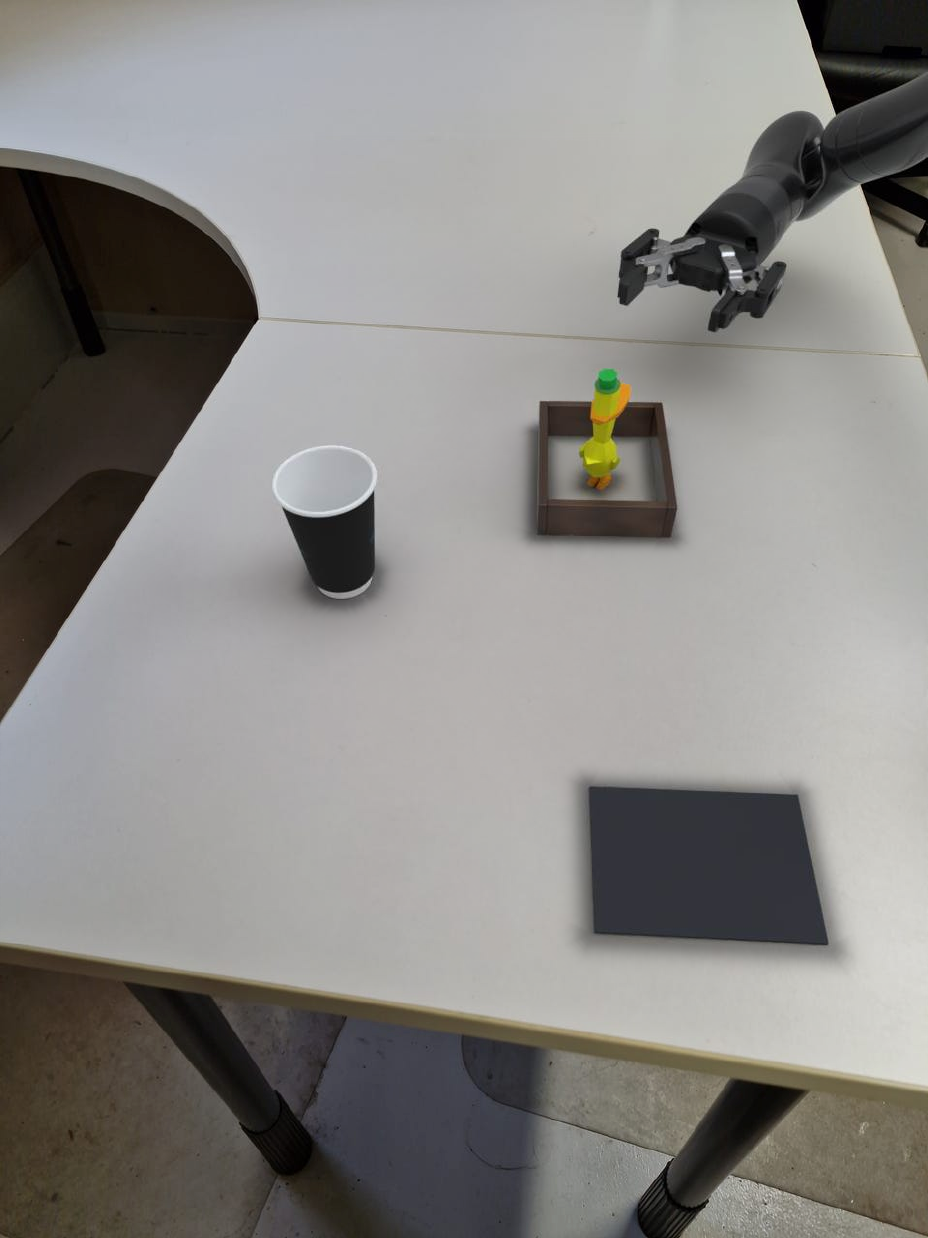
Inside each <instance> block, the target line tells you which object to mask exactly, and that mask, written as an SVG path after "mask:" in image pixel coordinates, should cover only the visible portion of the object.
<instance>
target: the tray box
mask: <svg viewBox="0 0 928 1238" xmlns="http://www.w3.org/2000/svg"><path fill="white" fill-rule="evenodd" d="M538 403H539V406H538V427H537V504H536V506H537V507H536V509H537V511H536V534H537V535H548V536H549V535H551V536H553V535H554V536H555V535H557V536H594V537H595V536H598V537H600V536H601V537H642V538H647V537H648V538H671V537H672V535H673V529H674V525H675V520H676V515H677V512H678V511H677V510H678V503H677V495H676V489H675V488H676V487H675V482H674V474H673V468H672V461H671V460H672V459H671V454H670V453H671V452H670V447H669V446H670V445H669V439H668V433H667V425H666V419H665V411H664V403H663V402H660V401H659V402H658V401H655V402H654V401H650V402H649V401H629V402H628V403H627V405H626V407H625V408H624V410H623V412H622V413H621V414H620V415H619V416H618V417H617V418H616V419H615V423H614V427H613V430H612V434H611V437H640V438H641V437H648V438H649V441H650V449H651V450H650V451H651V458H652V466H653V474H654V482H655V483H654V484H655V491H656V492H655V493H656V498H657V500H622V499H621V500H617V499H616V500H614V499H610V500H609V499H569V498H567V499H565V498H563V499H562V498H561V499H560V498H549V436H573V437H574V436H575V437H577V436H581V437H582V436H583V437H593V421H592V420H591V419H590V417H591V404H592V401H589V400H587V401H584V400H583V401H582V400H581V401H580V400H578V401H577V400H575V401H574V400H540V401H539V402H538Z"/></svg>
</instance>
